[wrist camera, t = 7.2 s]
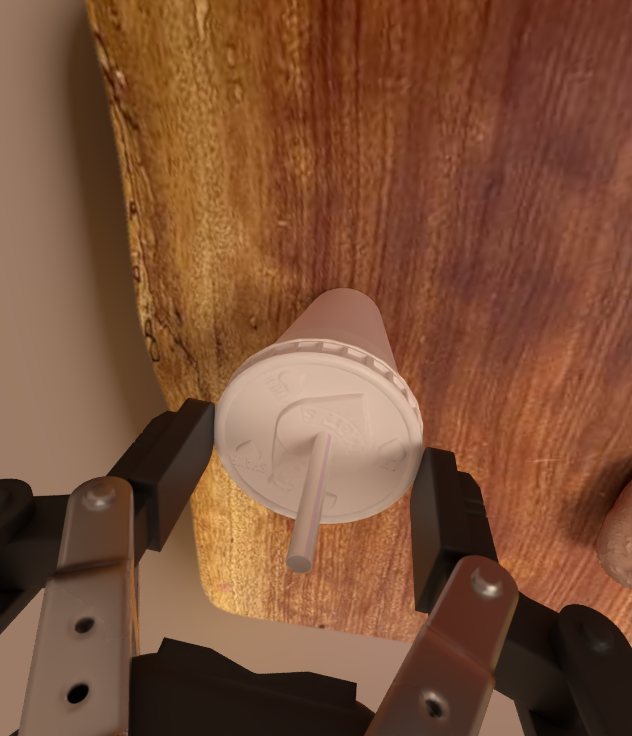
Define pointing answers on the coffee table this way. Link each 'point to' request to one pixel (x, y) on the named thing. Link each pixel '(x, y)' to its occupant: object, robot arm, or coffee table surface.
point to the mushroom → (617, 540)
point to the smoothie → (322, 422)
